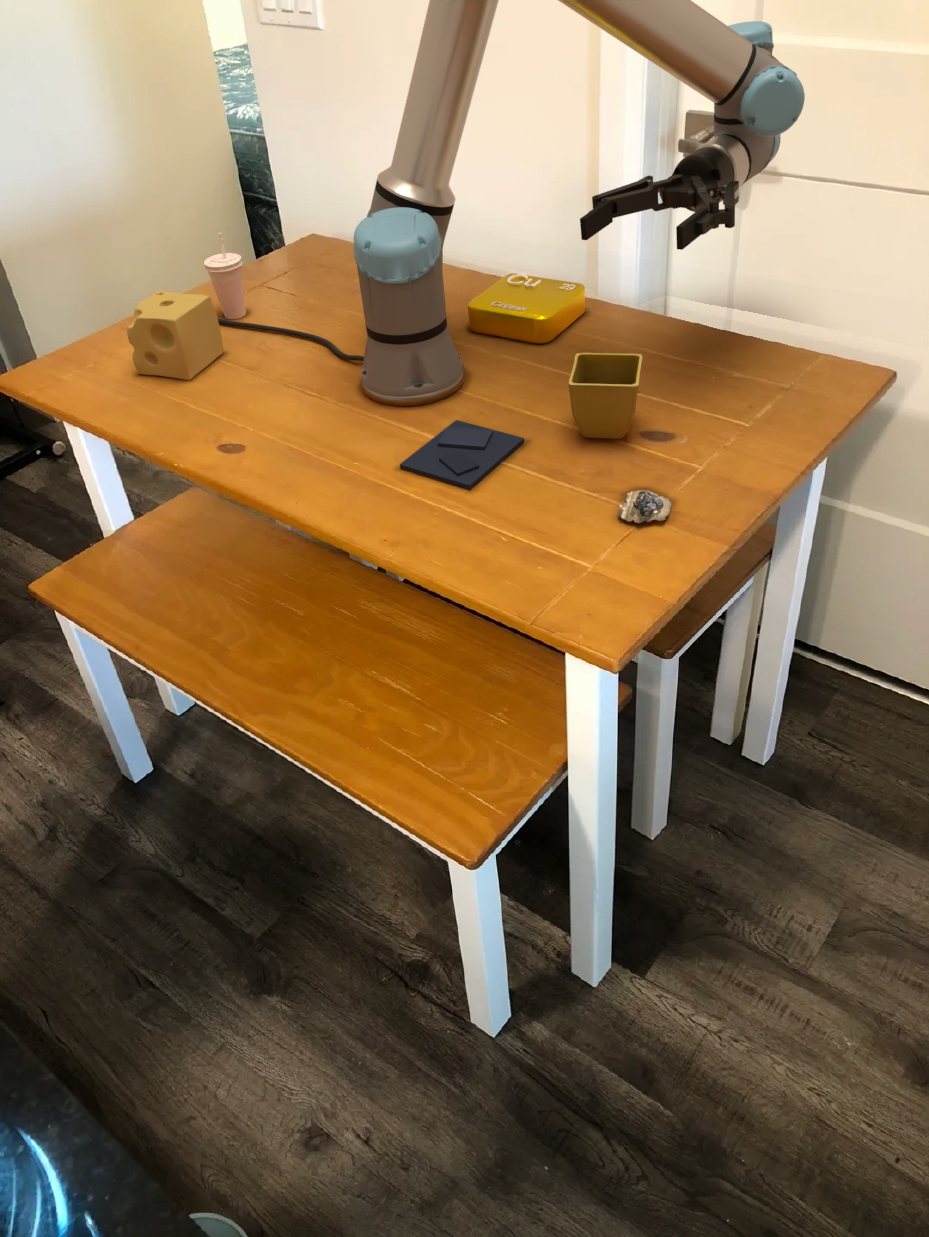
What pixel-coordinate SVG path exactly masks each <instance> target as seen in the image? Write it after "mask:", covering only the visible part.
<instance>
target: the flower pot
mask: <svg viewBox="0 0 929 1237" xmlns="http://www.w3.org/2000/svg"><path fill="white" fill-rule="evenodd" d="M642 365H643V355H642V354H641V353H610V352H609V353H607V352H579V353H576V354H575V356H574V360H573V365H572V370H571V372H570V376H569V380H568V392H569V399H570V408H571V413H572V418H573V421H574V424H575V426H576V428H577V429H578V431H579V433H580V434H581V435H582V436H583V437H584V438H586V439H587V438H588V439H612V440H622V439H623V438H624V437H625V435H626V434H627V433H628V432H629V429H630V427H631V426H632V423H633V420H634V417H635V412H636V406H637V401H638V400H637V399H638V392H639V386H640V379H641V372H642Z"/></svg>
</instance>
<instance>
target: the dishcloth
mask: <svg viewBox="0 0 929 1237" xmlns="http://www.w3.org/2000/svg"><path fill="white" fill-rule="evenodd" d="M524 443H525V438H524V437H522V436H518V435H514V434H510V433H507V432H503V431H499V430H495V429H491V428H487V427H485V426H480V425H477V424H474V423H469V422H465V421H462V420H457V419H456V420H455V421H453V422H451V423H450V424H449V425H448V426H446V427H445V428H444V429H443V430H442V431H440V432H439V433H438V434H436V435H435V436H433V438H431V439H430V440H429V441H427V442H426V443H425V444H424V445H422V446H421V447H420V448H419V449H418V450H415V452H414V453H413V454H411V455H410V456H409V457H407V458H406V459H405V460H403V461H402V462H401V463H399V468H400V469H401V470H404V471H407V472H411V473H414V474H416V475H420V476H424V477H427V478H430V479H433V480H437V481H440V482H443V483H446V484H449V485H453V486H456V487H460V488H463V489H466V490H472V489H473V488H474V487H475V486H476V485H478V484H479V482H481V481H482V480H483V479H484V478H486V476H488V475H489V474H490V473H491V472H492V471H494V470H495V469H496V468H497V467H499V465H500V464H501V463H502V462H504V461H505V460H506V459H507V458H508V457H510V456H511V455H512V454H513V453H514V452H516V450H517V449H519V447H521V446H522V445H523V444H524Z"/></svg>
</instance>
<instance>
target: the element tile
mask: <svg viewBox="0 0 929 1237" xmlns="http://www.w3.org/2000/svg"><path fill="white" fill-rule="evenodd" d="M585 311H586V286H585V285H584V284H582V283H580V282H573V281H567V280H560V279H553V278H549V277H548V278H546V277H540V276H534V275H528V274H520V273H509V274H507V275H504V276H503V277H502V278H500V279H499V280H498V281H496V282H495V283H493V284H491V285H490V286H489V287H487V288H486V289H485V290H484V291H482V292H481V293H480V294H478V295H477V296H475V297H474V298H472V299H471V300H470V301H469V302H468V303H467V315H468V328H469V330H470V331H472V332H473V333H478V334H483V335H487V336H494V337H498V338H505V339H508V340H515V341H520V342H526V343H531V344H538V345H539V344H540V345H541V344H548V343H550V342H552V341H553V340H554V339H555V338H557V337H558V336H559V335H560V334H561V333H563V331H565V330H566V329H567V328H568V327H569V326H571V324H573V323H574V322H575V321H576V320H578V319H579V318H580V317H581V316H582V315H583V314H585Z"/></svg>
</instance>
